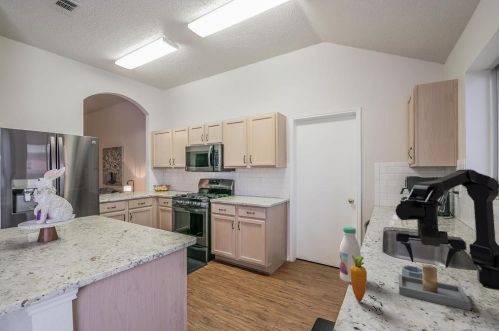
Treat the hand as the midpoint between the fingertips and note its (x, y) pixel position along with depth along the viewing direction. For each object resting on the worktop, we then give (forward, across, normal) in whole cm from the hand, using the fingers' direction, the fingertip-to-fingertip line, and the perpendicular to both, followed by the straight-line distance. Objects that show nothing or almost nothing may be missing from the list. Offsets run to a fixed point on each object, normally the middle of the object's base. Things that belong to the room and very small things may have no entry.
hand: (428, 264), depth 79 cm
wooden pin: (+9, 0, 0) cm, 9 cm away
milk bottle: (+10, -25, -2) cm, 27 cm away
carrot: (+10, -20, -18) cm, 29 cm away
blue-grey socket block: (+10, -4, +13) cm, 17 cm away
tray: (+10, 0, 0) cm, 10 cm away
